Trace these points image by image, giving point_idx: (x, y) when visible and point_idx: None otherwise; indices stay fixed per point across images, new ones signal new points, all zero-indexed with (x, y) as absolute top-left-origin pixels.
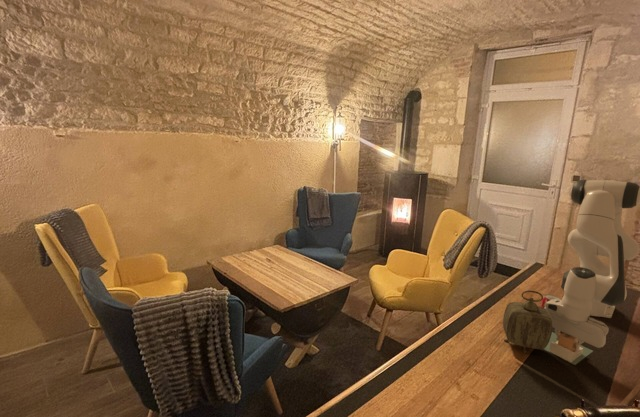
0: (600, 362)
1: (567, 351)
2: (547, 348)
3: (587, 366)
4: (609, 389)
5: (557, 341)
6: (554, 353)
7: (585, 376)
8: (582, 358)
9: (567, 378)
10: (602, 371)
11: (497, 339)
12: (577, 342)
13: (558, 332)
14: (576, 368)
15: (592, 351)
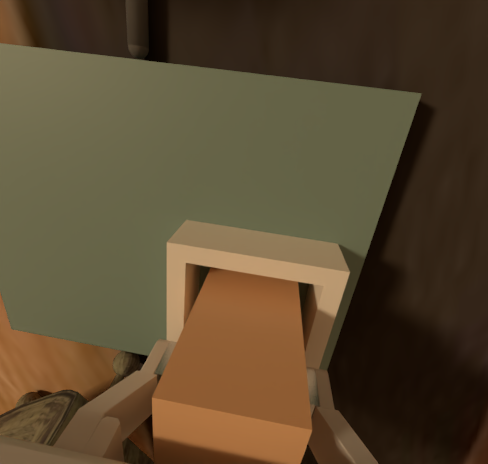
0: (461, 204)
1: None
2: (162, 337)
3: (378, 319)
4: (479, 429)
5: (169, 318)
6: None
7: (373, 406)
8: (347, 297)
9: (309, 456)
10: (463, 309)
11: (3, 388)
12: (303, 342)
13: (121, 423)
14: (328, 374)
15: (412, 114)
